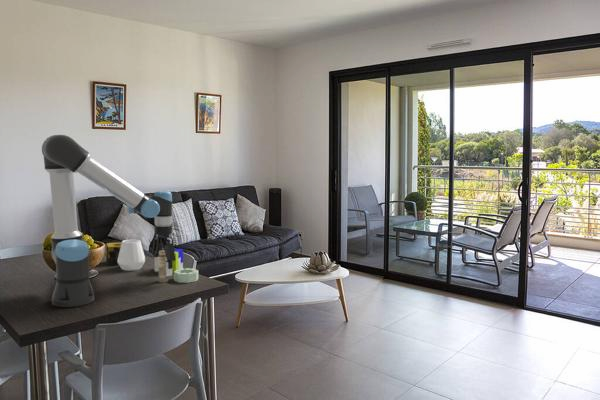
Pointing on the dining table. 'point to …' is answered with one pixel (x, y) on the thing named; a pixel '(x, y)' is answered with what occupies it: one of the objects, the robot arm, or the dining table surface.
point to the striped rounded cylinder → (162, 266)
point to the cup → (131, 255)
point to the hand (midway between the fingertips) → (163, 273)
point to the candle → (112, 253)
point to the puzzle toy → (177, 260)
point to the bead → (186, 275)
